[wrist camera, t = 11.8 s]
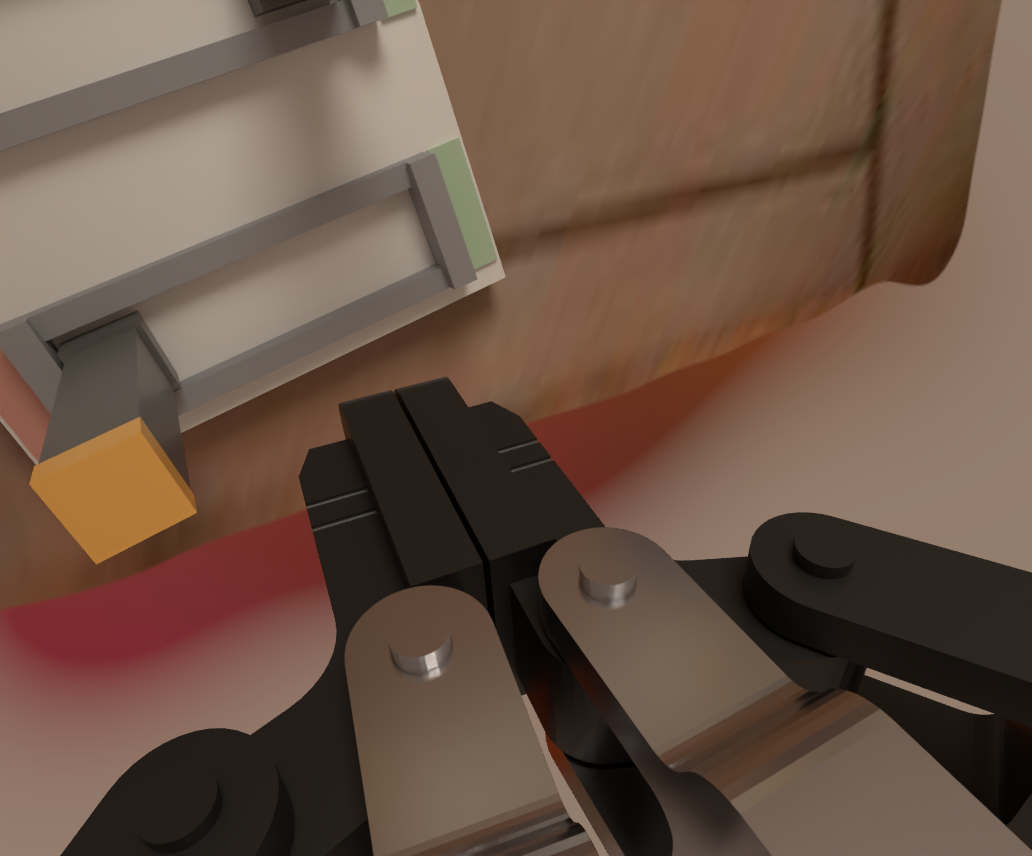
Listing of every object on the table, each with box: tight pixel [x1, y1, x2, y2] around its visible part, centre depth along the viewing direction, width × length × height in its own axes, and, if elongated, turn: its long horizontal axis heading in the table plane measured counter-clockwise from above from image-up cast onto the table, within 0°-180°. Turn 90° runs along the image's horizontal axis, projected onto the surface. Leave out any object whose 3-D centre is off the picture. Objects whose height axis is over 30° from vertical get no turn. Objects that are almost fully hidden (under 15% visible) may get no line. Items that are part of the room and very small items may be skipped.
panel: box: [0, 0, 505, 465], centre depth 23 cm, size 22×19×15 cm
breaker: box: [29, 310, 197, 564], centre depth 23 cm, size 3×3×13 cm
